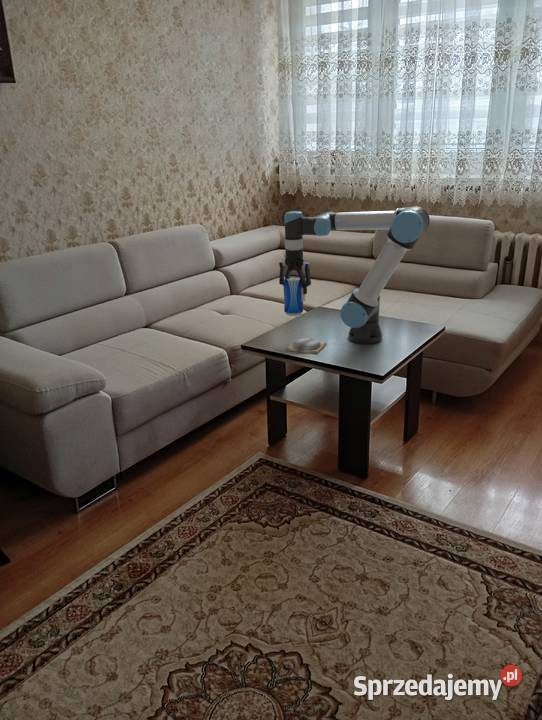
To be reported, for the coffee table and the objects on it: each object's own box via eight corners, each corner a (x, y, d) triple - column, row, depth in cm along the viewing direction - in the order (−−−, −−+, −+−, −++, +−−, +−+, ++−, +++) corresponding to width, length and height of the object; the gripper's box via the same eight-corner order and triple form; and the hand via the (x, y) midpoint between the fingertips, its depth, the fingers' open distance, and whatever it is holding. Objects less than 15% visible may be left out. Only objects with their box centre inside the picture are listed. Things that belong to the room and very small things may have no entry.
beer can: (303, 316, 267) (303, 280, 261) (284, 316, 267) (283, 280, 261) (303, 310, 275) (302, 275, 269) (284, 310, 275) (283, 276, 269)
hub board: (326, 344, 269) (326, 340, 268) (317, 353, 259) (317, 349, 258) (296, 341, 274) (296, 336, 274) (286, 350, 264) (286, 345, 263)
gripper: (318, 247, 260) (319, 300, 268) (276, 246, 268) (278, 296, 276) (312, 251, 254) (313, 304, 262) (269, 249, 262) (271, 301, 270)
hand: (295, 300), depth 269 cm, fingers closed on beer can, 7 cm apart
